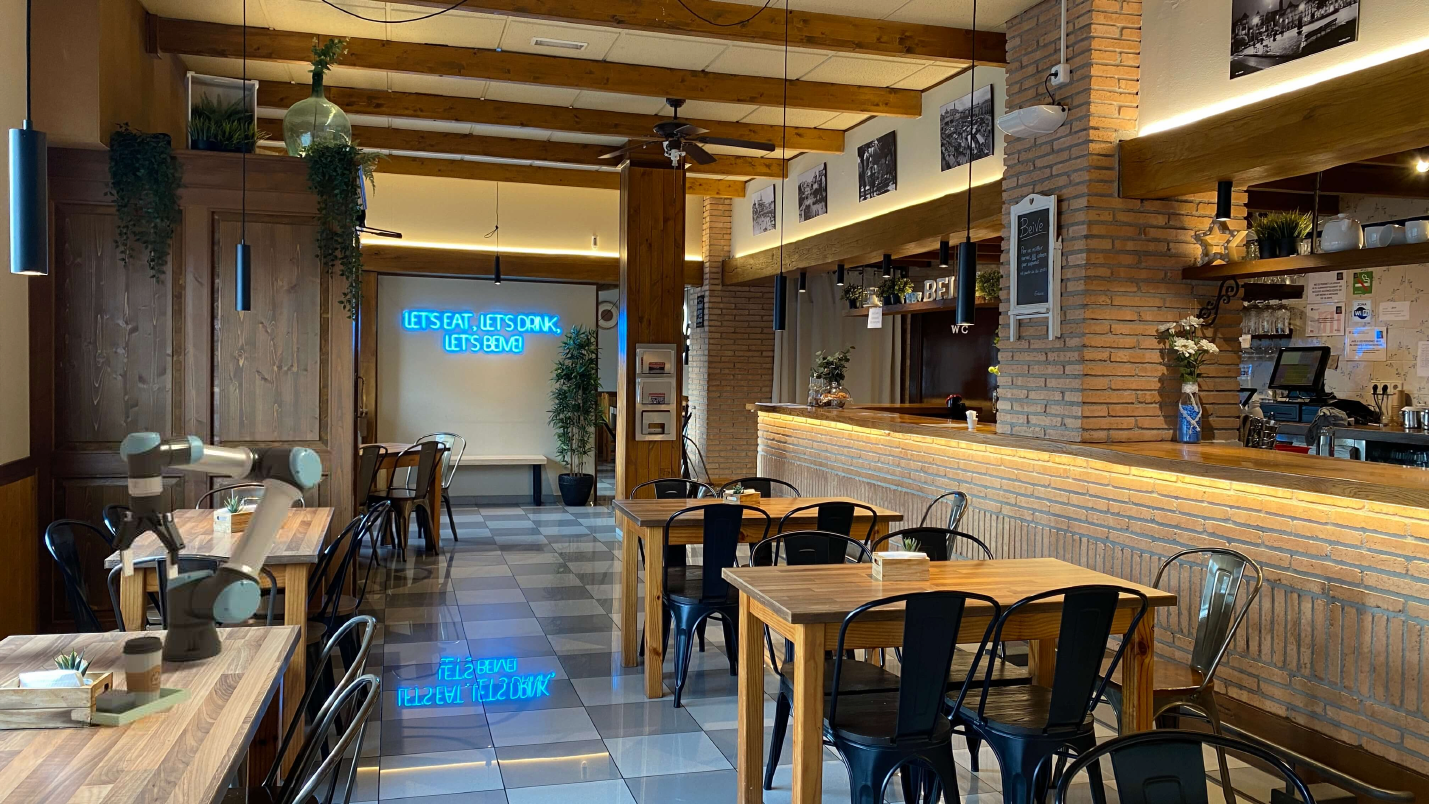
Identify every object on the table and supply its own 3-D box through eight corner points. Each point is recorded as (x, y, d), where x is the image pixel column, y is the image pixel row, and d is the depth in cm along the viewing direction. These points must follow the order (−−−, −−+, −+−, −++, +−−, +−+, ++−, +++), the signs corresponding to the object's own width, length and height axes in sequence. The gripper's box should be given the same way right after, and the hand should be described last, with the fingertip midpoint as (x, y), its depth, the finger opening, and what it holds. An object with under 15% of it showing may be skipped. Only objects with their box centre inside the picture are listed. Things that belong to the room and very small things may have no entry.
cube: (115, 710, 235) (114, 689, 235) (135, 712, 233) (135, 691, 233) (92, 718, 230) (91, 697, 229) (113, 721, 228) (112, 699, 228)
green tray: (144, 696, 248) (144, 684, 248) (190, 701, 244) (190, 689, 244) (70, 723, 229) (70, 710, 229) (119, 729, 225) (119, 716, 225)
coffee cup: (146, 709, 235) (144, 645, 235) (115, 707, 237) (114, 643, 237) (172, 698, 244) (171, 636, 243) (142, 696, 245) (141, 634, 245)
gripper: (93, 495, 256) (97, 577, 257) (175, 497, 250) (180, 582, 251) (117, 490, 263) (121, 571, 265) (198, 492, 257) (202, 575, 258)
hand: (150, 576), depth 258 cm, fingers open, 13 cm apart
